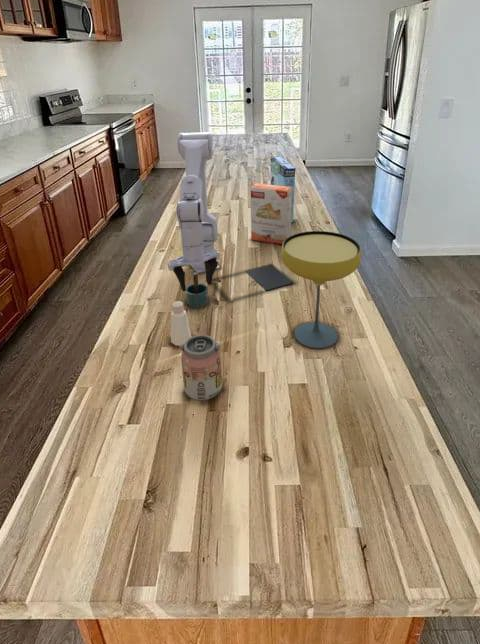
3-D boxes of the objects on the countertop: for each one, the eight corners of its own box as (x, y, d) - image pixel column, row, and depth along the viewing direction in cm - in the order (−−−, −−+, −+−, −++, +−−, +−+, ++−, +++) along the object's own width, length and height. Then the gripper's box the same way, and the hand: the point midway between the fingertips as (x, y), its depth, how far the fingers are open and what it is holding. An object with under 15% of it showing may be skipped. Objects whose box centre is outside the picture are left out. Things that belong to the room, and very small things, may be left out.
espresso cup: (183, 300, 127) (182, 286, 125) (203, 294, 129) (202, 281, 127) (191, 310, 122) (189, 296, 120) (211, 304, 124) (210, 291, 122)
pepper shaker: (168, 337, 111) (163, 300, 106) (188, 332, 113) (185, 295, 108) (173, 349, 106) (169, 311, 102) (194, 343, 108) (191, 306, 103)
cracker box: (250, 240, 164) (249, 187, 155) (256, 234, 169) (255, 182, 160) (286, 245, 159) (287, 190, 150) (291, 239, 164) (292, 185, 155)
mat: (210, 280, 137) (210, 279, 137) (271, 265, 145) (271, 264, 145) (228, 301, 126) (228, 300, 125) (293, 283, 134) (293, 282, 134)
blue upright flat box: (269, 208, 196) (269, 157, 186) (280, 206, 197) (281, 156, 187) (282, 223, 179) (283, 168, 169) (294, 222, 180) (295, 167, 170)
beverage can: (187, 372, 99) (183, 328, 94) (224, 372, 99) (222, 328, 93) (181, 402, 91) (175, 356, 85) (221, 403, 90) (218, 357, 85)
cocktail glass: (364, 353, 103) (375, 259, 93) (290, 362, 101) (293, 267, 90) (337, 311, 120) (344, 227, 109) (273, 319, 117) (273, 233, 106)
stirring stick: (194, 300, 126) (192, 273, 122) (198, 299, 126) (196, 271, 122) (196, 302, 125) (193, 274, 121) (200, 301, 125) (198, 273, 121)
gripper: (171, 254, 111) (176, 299, 117) (223, 242, 117) (225, 286, 123) (163, 244, 117) (168, 287, 123) (213, 233, 123) (215, 275, 129)
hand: (196, 286), depth 123 cm, fingers open, 7 cm apart
